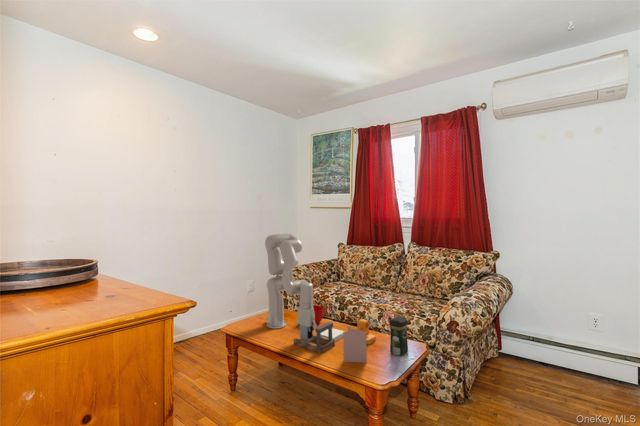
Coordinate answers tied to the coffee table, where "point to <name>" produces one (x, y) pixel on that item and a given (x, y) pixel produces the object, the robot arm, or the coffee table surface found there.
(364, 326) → the bracket
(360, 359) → the greeting card
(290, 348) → the coffee table surface
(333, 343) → the rack
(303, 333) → the block
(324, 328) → the grey arch
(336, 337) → the plinth
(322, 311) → the ceramic cup
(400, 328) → the coffee jar
